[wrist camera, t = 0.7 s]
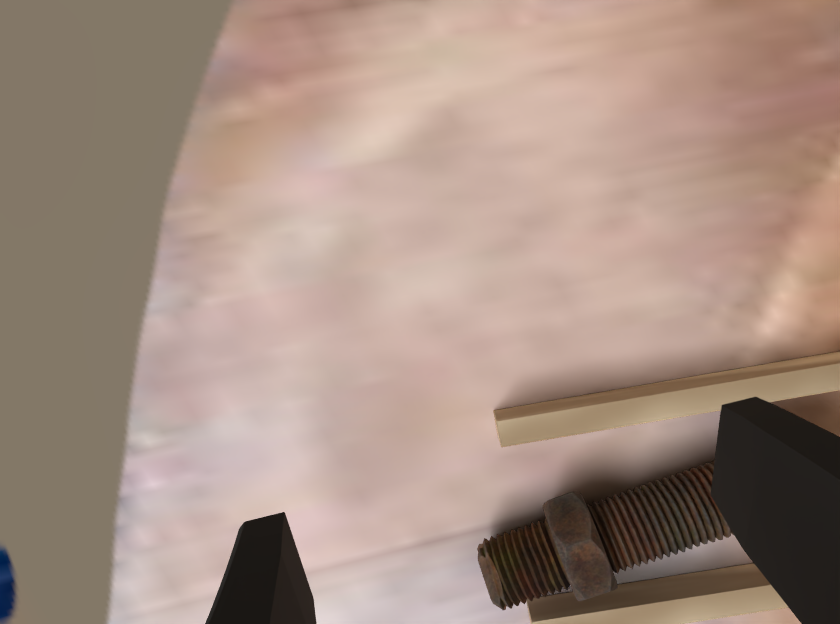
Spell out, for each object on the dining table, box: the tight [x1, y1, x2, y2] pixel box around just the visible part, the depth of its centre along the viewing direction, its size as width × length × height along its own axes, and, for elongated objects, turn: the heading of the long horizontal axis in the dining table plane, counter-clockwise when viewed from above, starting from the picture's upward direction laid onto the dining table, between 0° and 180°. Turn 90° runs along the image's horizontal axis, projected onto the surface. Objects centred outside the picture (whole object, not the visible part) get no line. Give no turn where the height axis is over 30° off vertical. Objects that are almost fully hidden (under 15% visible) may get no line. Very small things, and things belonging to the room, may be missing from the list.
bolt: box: [477, 460, 734, 610], centre depth 30 cm, size 6×5×15 cm
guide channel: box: [493, 351, 840, 624], centre depth 30 cm, size 11×24×3 cm, turn 100°
